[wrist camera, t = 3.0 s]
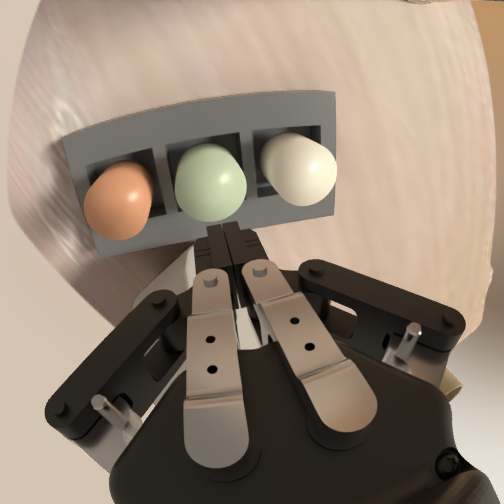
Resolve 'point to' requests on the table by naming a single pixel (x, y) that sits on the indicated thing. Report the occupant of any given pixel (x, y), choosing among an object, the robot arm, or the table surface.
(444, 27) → the table surface
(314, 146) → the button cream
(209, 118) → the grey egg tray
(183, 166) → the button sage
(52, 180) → the table surface
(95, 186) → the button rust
